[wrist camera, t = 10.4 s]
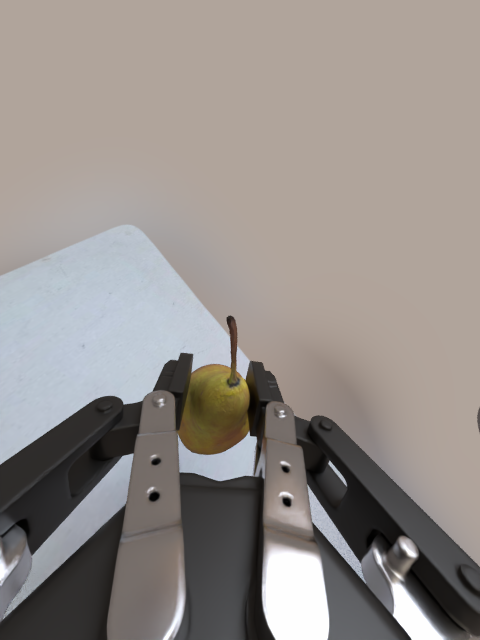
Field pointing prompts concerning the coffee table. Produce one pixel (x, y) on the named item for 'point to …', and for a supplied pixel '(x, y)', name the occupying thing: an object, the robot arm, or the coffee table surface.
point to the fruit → (216, 406)
